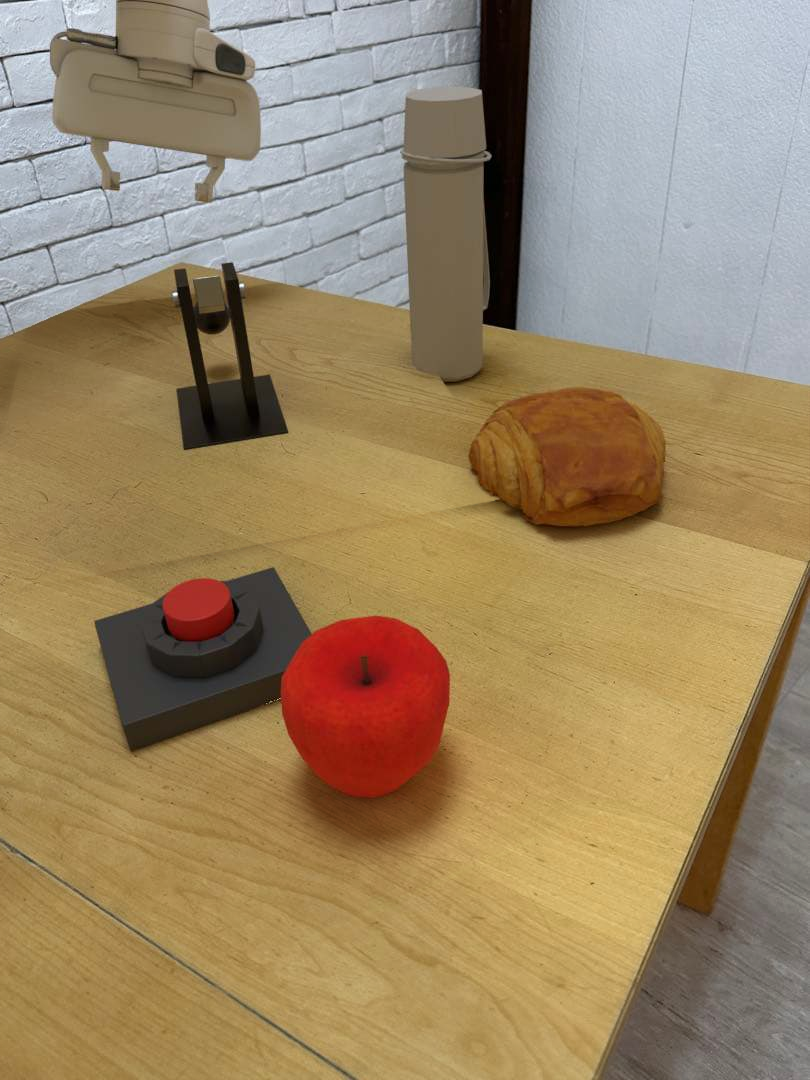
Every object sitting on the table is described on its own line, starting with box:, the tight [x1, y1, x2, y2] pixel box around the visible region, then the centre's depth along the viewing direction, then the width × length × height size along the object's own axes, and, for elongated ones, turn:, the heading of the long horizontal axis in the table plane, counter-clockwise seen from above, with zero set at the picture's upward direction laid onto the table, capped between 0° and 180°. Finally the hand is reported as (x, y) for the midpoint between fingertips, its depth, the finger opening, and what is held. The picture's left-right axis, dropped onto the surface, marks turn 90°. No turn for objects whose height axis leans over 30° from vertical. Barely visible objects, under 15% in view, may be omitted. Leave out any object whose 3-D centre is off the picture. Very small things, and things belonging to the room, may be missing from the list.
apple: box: [280, 615, 451, 799], centre depth 47 cm, size 9×9×8 cm
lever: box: [192, 275, 231, 336], centre depth 81 cm, size 13×4×4 cm, turn 14°
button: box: [162, 577, 234, 642], centre depth 54 cm, size 4×4×2 cm
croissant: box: [467, 386, 667, 527], centre depth 70 cm, size 14×16×8 cm
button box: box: [93, 566, 313, 753], centre depth 56 cm, size 12×10×4 cm
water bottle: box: [399, 85, 492, 383], centre depth 83 cm, size 9×8×25 cm
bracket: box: [171, 261, 289, 451], centre depth 79 cm, size 12×9×14 cm
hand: (158, 196), depth 93 cm, fingers open, 8 cm apart
